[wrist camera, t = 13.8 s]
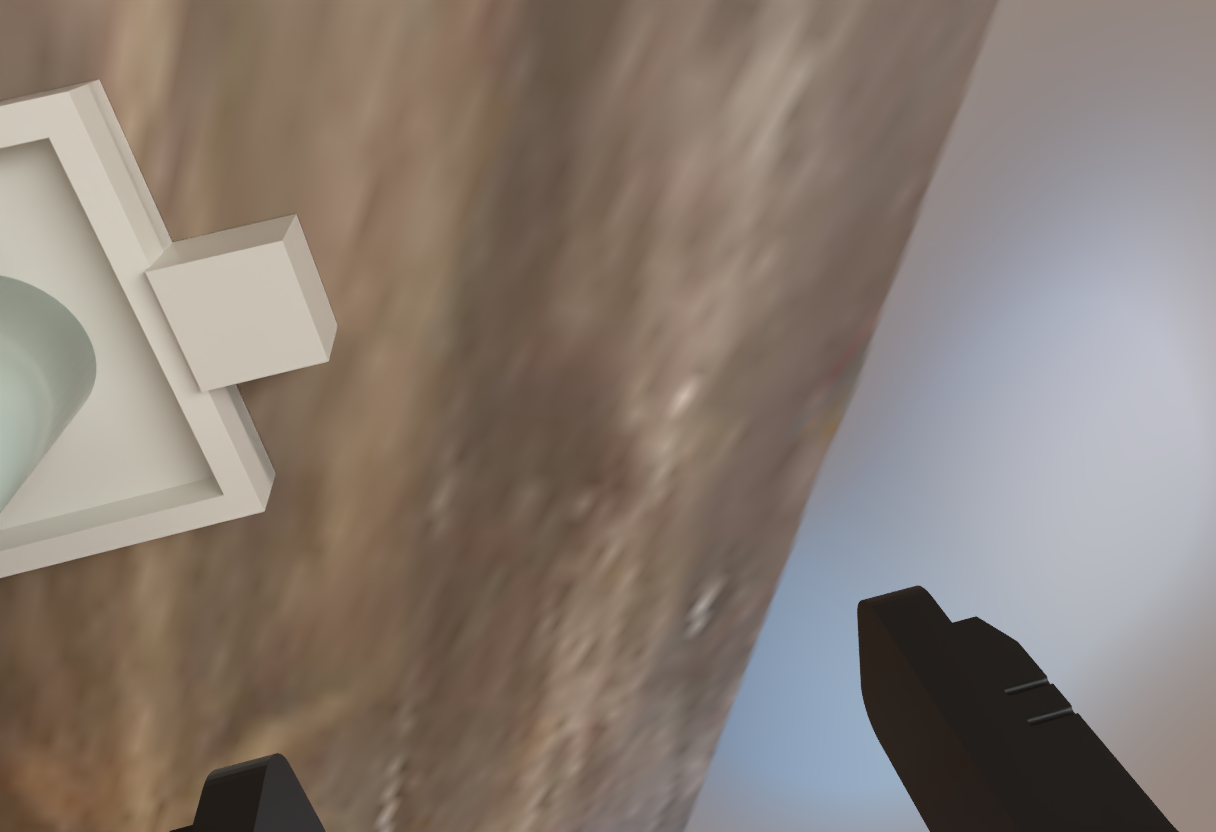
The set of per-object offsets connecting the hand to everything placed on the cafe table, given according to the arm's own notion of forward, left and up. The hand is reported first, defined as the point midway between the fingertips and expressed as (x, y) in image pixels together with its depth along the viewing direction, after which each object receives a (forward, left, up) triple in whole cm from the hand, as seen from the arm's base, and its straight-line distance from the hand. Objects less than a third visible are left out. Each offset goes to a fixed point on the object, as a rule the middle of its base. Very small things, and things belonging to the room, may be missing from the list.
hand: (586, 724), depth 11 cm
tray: (+16, 0, -22) cm, 27 cm away
